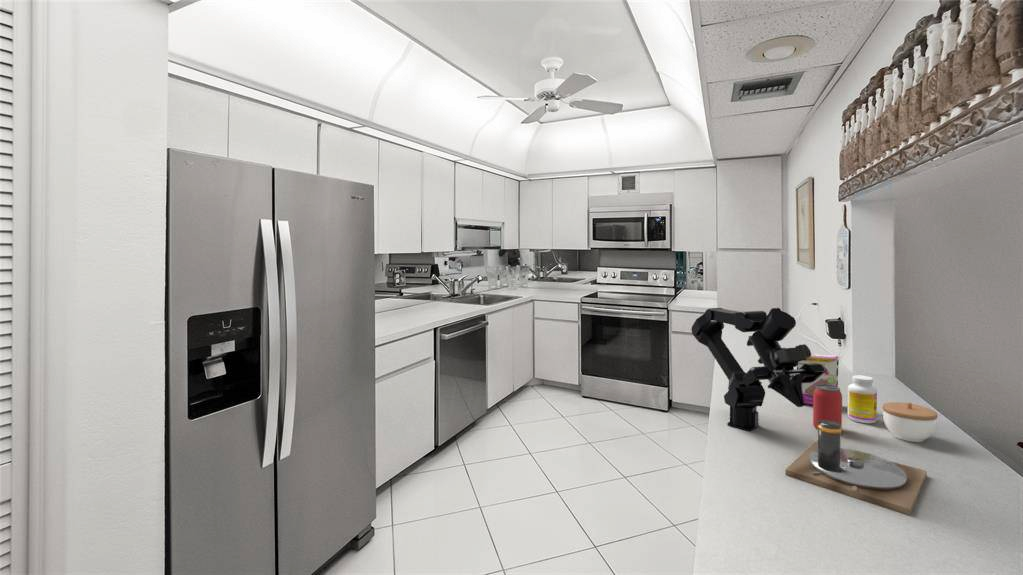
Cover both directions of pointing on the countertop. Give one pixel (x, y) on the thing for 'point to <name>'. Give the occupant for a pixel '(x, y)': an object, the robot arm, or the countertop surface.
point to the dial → (853, 462)
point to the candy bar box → (827, 378)
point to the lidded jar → (909, 421)
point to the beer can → (827, 404)
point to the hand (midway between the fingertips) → (801, 406)
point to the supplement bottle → (862, 400)
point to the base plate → (890, 499)
